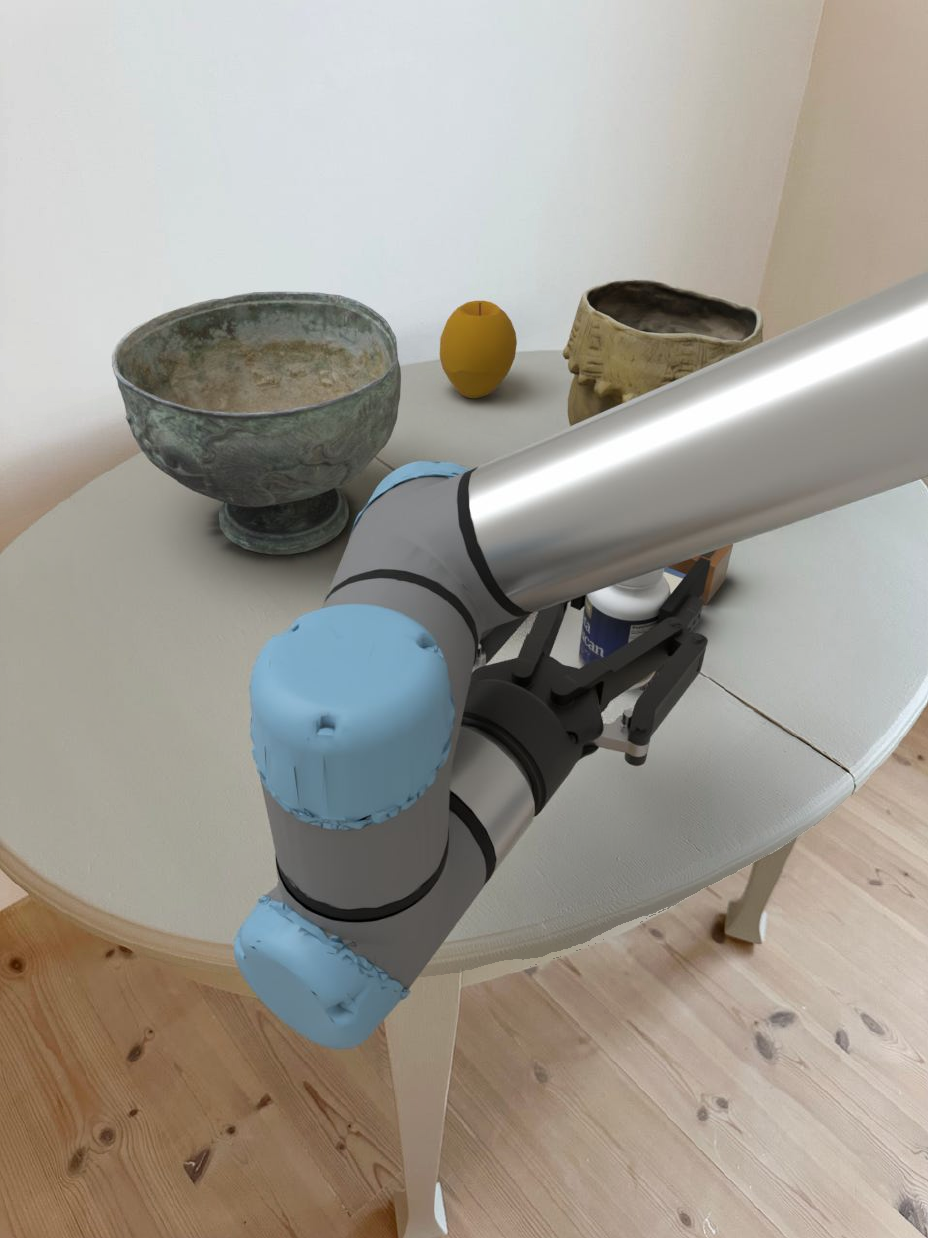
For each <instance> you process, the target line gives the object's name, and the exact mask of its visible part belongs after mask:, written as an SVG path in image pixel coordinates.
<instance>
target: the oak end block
mask: <svg viewBox="0 0 928 1238" xmlns="http://www.w3.org/2000/svg"><path fill="white" fill-rule="evenodd" d="M733 548H734V544H731V545H728V546H725V547H722V548H720V549H717V550H714V551H711V552H708V553H705V554H702V555H699V556H696V557H693V558H691V559H688V560H685V561H682V562H679V563H676V564H673V565H670V566H667V567H668V568H670V569H673V570H676V571H678V572H681V573H684V574H687V573H688V572H689V571H690V569H691V568H692V567H693V566H694V564H695V563H696V562H697V561H698V559H699V558H700V557H702V558H705V559H707V560H710V561H711V563H710V567H709V571H708V576H707V580H706V585H705V589H704V593H703V594H702V595H701V598H700V599H703V605H708V604H709V602H710V601H711V599H712V598H713V597H714V595H715V594H716V593H717V592H718V590H719V589H720V587H721V586H722V585H723V584H724V582H725V579H726V575H727V571H728V567H729V563H730V559H731V556H732V551H733Z"/></svg>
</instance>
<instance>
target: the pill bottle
mask: <svg viewBox="0 0 928 1238" xmlns="http://www.w3.org/2000/svg"><path fill="white" fill-rule="evenodd" d="M663 573H664V568H662V569H659V570H656V571H653V572H650V573H647V574H644V575H641V576H638V577H635V578H633V579H630V580H627V581H624V582H621V583H618V584H615V585H612V586H609V587H606V588H604V589H601V590H598V591H595V592H592V593H589V594H586V599H585V605H584V607H583V614H582V621H581V632H580V641H579V646H578V647H579V648H578V666H579V669H580V668H581V667H583V666H584V665H586V664H587V663H589V662H591V661H592V660H594V659H598V660H599V661H601V660H603V659H604V658H606V657H607V656H609V655H610V654H612V653H614V652H615V651H617V650H618V649H620V648H621V647H623V646H624V645H626V644H628V643H629V642H631V641H632V640H634V639H635V638H637V637H639V636H640V635H642V634H643V633H645V632H646V631H648V630H649V629H651V628H653V627H654V626H656V625H657V621H658V615H659V610H660V607H661V606H662V605H663V603H664V602H665V601H666V600H667V598H668V597H669V596H670V587H669V584H668V582H667V580H666V578H665V577H664V576H663ZM654 673H655V671H654V672H653V673H651V674H650V675H648V676H647V677H646V678H644V679H643V680H641V681H640V682H638V683H637V684H635V685H634V686H632V687H631V688H629V689H628V690H627V691H631V690H635V689H638V688H639V687H641V686H643V685H645V684H646V683H647V682H648V683H650V681H651V680H652V678H653V676H655V674H656V673H655V674H654ZM648 683H647V684H648Z"/></svg>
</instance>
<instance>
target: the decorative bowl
mask: <svg viewBox="0 0 928 1238" xmlns="http://www.w3.org/2000/svg"><path fill="white" fill-rule="evenodd" d="M399 361H400V360H399V355H398V344H397V336H396V335H395V333H394V332H393V330H392V327H391V326H390V324H389V322H388V321H387V320H386V318H384V317H383V316H382V315H381V314H380V313H378V312H377V311H376V310H374V309H373V308H372V307H370V306H368V305H366V304H364V303H362V302H360V301H358V300H356V299H353V298H350V297H347V296H344V295H340V294H331V293H325V292H324V293H323V292H314V291H313V292H312V291H311V292H310V291H253V292H248V293H241V294H235V295H231V296H227V297H224V298H212V299H208V300H204V301H200V302H199V301H198V302H195V303H192V304H189V305H186V306H181V307H178V308H176V309H173V310H171V311H167V312H163V313H162V314H159V315H158V316H156V317H152V318H151V319H149V320H146V321H144V322H142V323H140V324H139V325H137V326H135V327H134V328H132V329H131V330H130V331H128V332H127V333H126V334H125V335H123V337H122V338H120V340H119V341H118V342H117V343H116V346H115V347H114V348H113V351H112V354H111V367H112V371H113V374H114V376H115V378H116V381H117V387H118V389H119V392H120V394H121V397H122V401H123V404H124V409H125V412H126V413H125V414H126V415H125V419H126V421H127V423H128V426H129V428H130V431H131V434H132V436H133V437H134V440H135V441H136V443H137V445H138V447H139V448H140V450H141V452H143V454H144V455H145V456H146V458H147V459H148V461H149V462H150V463H152V465H153V466H155V467H156V468H157V469H159V470H160V471H161V472H163V473H164V474H166V475H168V476H169V477H170V478H172V479H174V480H175V481H176V482H178V484H180V485H182V486H184V487H185V488H188V489H189V490H191V491H192V492H195V493H198V494H199V495H203V496H206V497H207V498H211V499H214V500H216V501H219V502H221V503H222V504H221V506H220V509H219V513H218V520H219V522H218V523H219V529H220V530H221V531H222V533H223V534H224V536H225V537H226V538H227V539H228V540H229V541H231V542H232V543H233V544H235V545H236V546H239V547H240V548H242V549H244V550H248V551H251V552H255V553H259V554H267V555H293V554H299V553H305V552H306V553H307V552H309V551H311V550H314V549H317V548H320V547H322V546H324V545H325V544H327V543H329V542H331V541H332V540H334V539H335V538H337V537H338V536H339V534H340V533H341V532H342V531H343V530H344V528H345V527H346V525H347V522H348V520H349V515H350V514H349V513H350V512H349V505H348V501H347V498H346V496H345V495H344V494H343V492H342V491H341V490H340V489H339V488H338V487H340V486H344V485H345V484H347V483H349V482H351V481H352V480H354V479H355V478H357V477H358V476H360V475H361V474H362V473H363V471H365V470H366V468H367V467H368V465H370V463H371V462H372V461H373V460H374V459H375V458H376V456H377V455H378V454H379V453H380V452H381V451H382V450H383V449H384V448H385V447H386V445H387V444H388V442H389V440H390V439H391V437H392V434H393V432H394V429H395V426H396V424H397V420H398V416H399V415H398V414H399V405H400V401H401V391H402V390H401V387H402V373H401V365H400V362H399Z"/></svg>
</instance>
